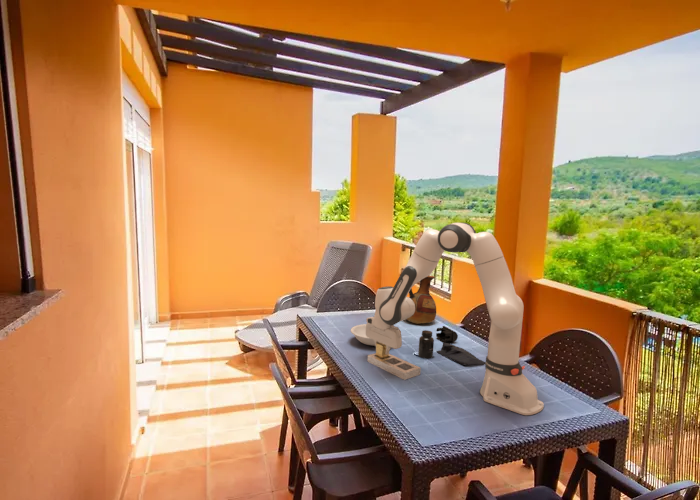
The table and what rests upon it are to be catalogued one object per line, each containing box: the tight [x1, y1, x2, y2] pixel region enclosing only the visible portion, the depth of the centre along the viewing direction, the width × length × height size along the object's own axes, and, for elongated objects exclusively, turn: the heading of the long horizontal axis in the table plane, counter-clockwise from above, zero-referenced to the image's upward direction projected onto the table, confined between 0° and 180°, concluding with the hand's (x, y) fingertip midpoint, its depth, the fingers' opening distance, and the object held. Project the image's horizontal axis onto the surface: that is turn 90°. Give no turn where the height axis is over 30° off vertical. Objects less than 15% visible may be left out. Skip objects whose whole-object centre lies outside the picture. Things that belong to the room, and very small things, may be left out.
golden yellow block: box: [375, 343, 390, 359], centre depth 183 cm, size 4×4×6 cm
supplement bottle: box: [418, 329, 435, 359], centre depth 193 cm, size 7×7×12 cm
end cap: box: [435, 325, 458, 345], centre depth 217 cm, size 10×7×7 cm
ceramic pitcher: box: [405, 275, 437, 325], centre depth 249 cm, size 20×20×30 cm
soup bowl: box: [350, 323, 380, 347], centre depth 208 cm, size 24×24×7 cm
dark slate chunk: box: [435, 343, 486, 366], centre depth 193 cm, size 15×22×5 cm
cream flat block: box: [367, 352, 422, 381], centre depth 178 cm, size 23×10×3 cm, turn 39°
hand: (382, 352), depth 183 cm, fingers closed on golden yellow block, 4 cm apart
